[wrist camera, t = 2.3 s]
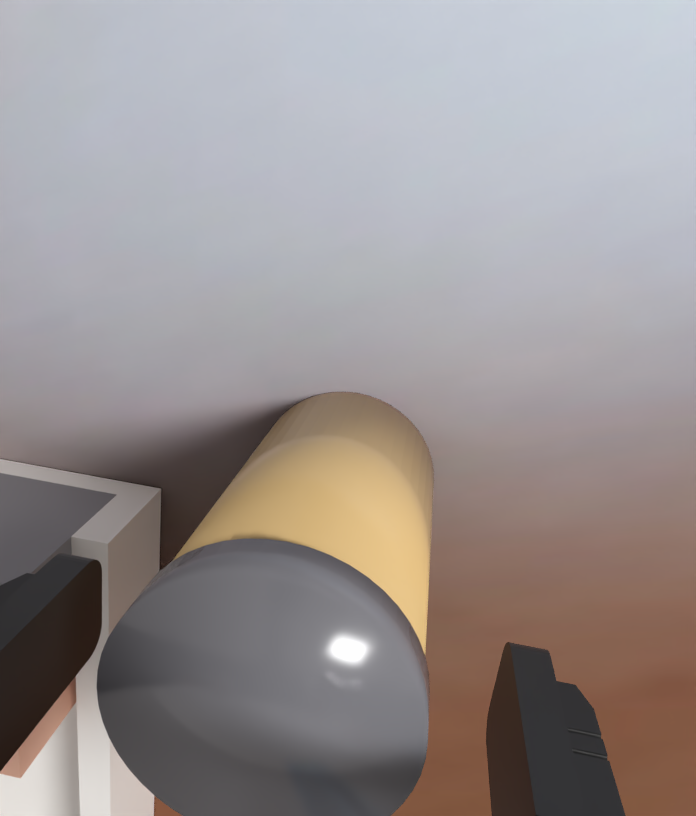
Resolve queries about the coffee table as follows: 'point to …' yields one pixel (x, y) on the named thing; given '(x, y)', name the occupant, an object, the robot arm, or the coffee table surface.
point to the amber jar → (288, 629)
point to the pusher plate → (41, 733)
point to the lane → (121, 584)
